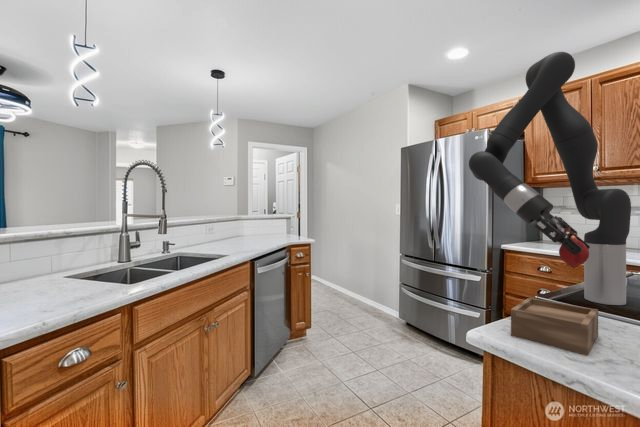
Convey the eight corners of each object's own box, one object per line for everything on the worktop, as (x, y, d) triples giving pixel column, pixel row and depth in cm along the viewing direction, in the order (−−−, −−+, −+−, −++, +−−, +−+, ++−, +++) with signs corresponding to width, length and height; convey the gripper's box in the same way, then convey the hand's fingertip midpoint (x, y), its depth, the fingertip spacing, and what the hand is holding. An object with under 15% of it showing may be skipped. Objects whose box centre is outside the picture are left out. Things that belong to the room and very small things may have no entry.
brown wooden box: (528, 322, 78) (528, 297, 78) (598, 337, 68) (598, 309, 68) (511, 337, 69) (510, 309, 69) (587, 357, 59) (587, 325, 59)
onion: (594, 270, 74) (594, 236, 74) (567, 269, 75) (567, 236, 75) (579, 265, 80) (579, 234, 80) (554, 265, 81) (554, 234, 81)
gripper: (527, 193, 79) (589, 244, 70) (547, 193, 87) (604, 239, 78) (505, 214, 83) (560, 264, 74) (526, 212, 92) (577, 257, 83)
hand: (582, 251), depth 76 cm, fingers closed on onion, 5 cm apart
